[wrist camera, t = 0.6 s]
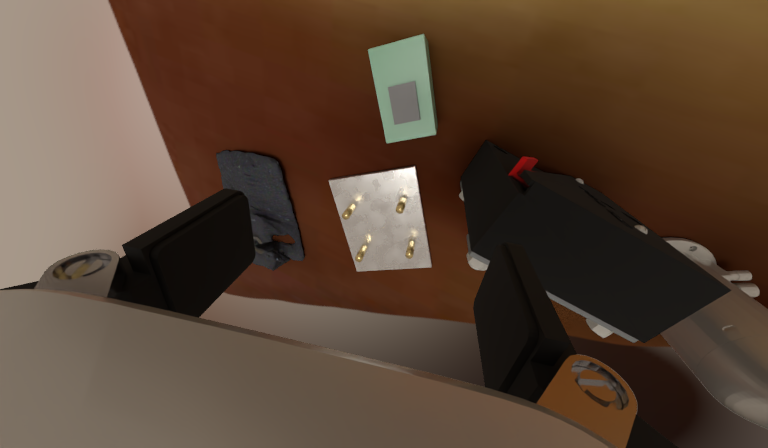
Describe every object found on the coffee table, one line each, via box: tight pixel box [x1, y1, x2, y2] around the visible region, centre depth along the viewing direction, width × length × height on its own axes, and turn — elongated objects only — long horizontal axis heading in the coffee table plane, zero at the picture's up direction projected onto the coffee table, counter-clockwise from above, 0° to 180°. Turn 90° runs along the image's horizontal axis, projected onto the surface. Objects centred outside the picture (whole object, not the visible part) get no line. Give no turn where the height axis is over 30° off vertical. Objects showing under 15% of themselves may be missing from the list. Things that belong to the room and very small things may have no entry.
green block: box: [368, 34, 438, 143], centre depth 34 cm, size 6×10×8 cm, turn 12°
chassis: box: [329, 165, 432, 271], centre depth 45 cm, size 14×18×4 cm
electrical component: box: [459, 140, 732, 343], centre depth 31 cm, size 18×10×20 cm, turn 64°
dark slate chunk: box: [216, 150, 305, 271], centre depth 49 cm, size 15×22×5 cm
